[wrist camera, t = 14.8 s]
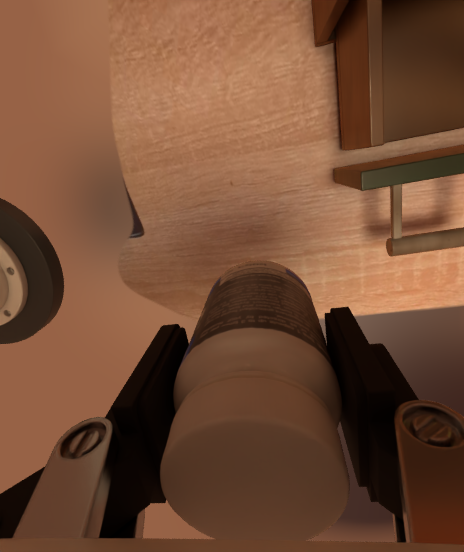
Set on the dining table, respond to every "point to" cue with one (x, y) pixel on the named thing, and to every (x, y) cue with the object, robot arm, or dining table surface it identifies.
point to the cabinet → (326, 19)
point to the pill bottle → (257, 414)
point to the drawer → (401, 99)
